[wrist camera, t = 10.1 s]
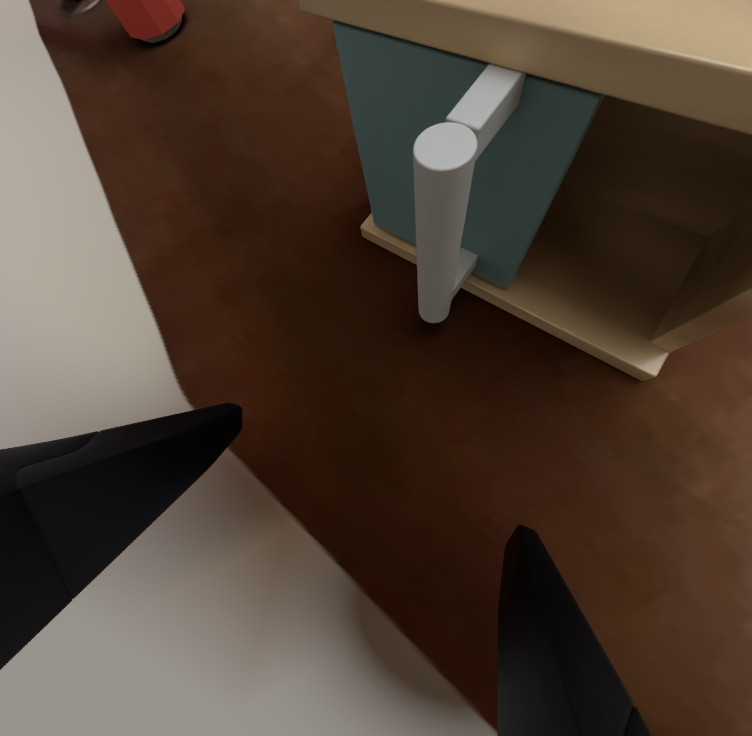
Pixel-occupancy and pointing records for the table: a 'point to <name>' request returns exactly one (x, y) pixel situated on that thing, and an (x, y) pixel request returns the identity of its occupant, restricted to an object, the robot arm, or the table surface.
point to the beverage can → (148, 17)
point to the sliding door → (458, 155)
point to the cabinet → (617, 163)
